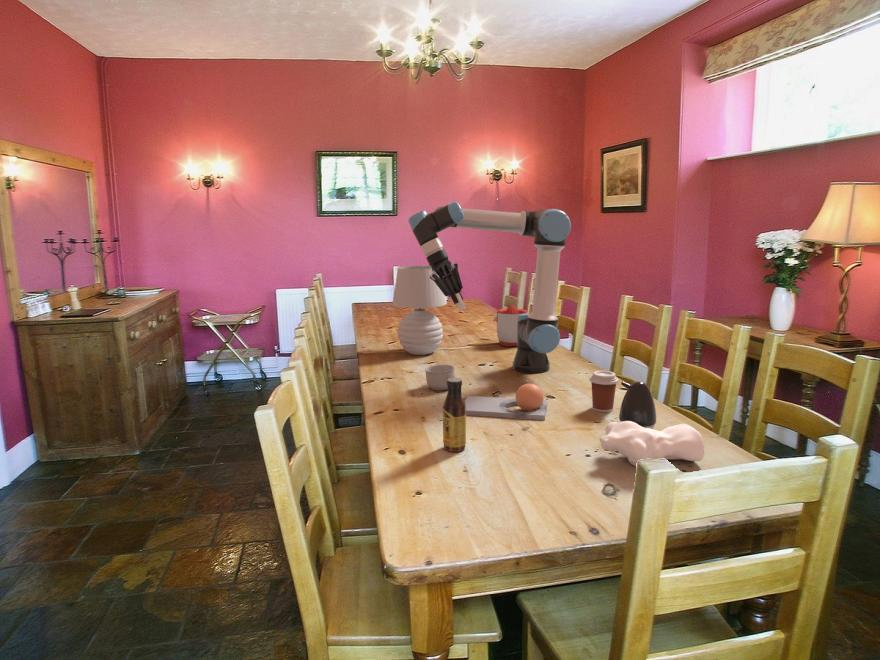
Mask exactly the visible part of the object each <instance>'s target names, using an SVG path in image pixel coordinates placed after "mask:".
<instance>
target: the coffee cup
mask: <svg viewBox="0 0 880 660" xmlns="http://www.w3.org/2000/svg"><path fill="white" fill-rule="evenodd" d="M588 378H589V380H588V381H589V382H590V383H591V398H592V400H591V401H592V402H591V403H592V409H593V410H594V411H596V412H599V413H611V412H613V411H614V404H615V395H616V388H617V384H618V383H619V382H620V381H619V378H618V377H617V376H616V373H615V372H613V371H611V370H610V371H608V370H596V371H593V372H592V375H590V377H588Z"/></svg>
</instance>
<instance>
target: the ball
mask: <svg viewBox="0 0 880 660" xmlns="http://www.w3.org/2000/svg"><path fill="white" fill-rule="evenodd" d="M544 398H545V396H544V392H543V390H542V388H541V387H539V385H537V384H534V383H524V384H523V385H520V386H519V388H518V389H517V390H516V393H515V399H516V402H517V404H518V405H517V406H518V407H519V408H520V409H521V410H523V411H524V412H531V411H536V410H538V408H540V406H541V405H542V403H543V400H544Z"/></svg>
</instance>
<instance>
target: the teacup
mask: <svg viewBox="0 0 880 660" xmlns="http://www.w3.org/2000/svg"><path fill="white" fill-rule="evenodd" d="M424 370H425V378H426V384H427V385H428V387H429V388H431V389H432V390H433V391H439V392H440V391H446V390H447V391H448V385H447V379H449V378H456V377H455V366H454V365H451V364H445V363H444V364H443V363H438V364H434V365H430V366H427V367H426V368H425V369H424Z"/></svg>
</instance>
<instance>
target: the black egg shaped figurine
mask: <svg viewBox="0 0 880 660" xmlns="http://www.w3.org/2000/svg"><path fill="white" fill-rule="evenodd" d="M620 385H621V386H622V387H624V388H626V389H627V390H626V392H625V394H624V396H623V398H622V402H621V404H620V408H619V414H618V420H619V421H620V422H623V421H632V422H634V423H637V424H638V425H640V426H641V427H644V428H650V429H654V427H655V425H656V424H657V410H656V404H655V400H654V396H653V393H652V392H651V389H650V387H649V386H648V384H646V383H645V382H643V381H635V382H632V383H631V384H629V383H626V382H625V381H621V382H620Z"/></svg>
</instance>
